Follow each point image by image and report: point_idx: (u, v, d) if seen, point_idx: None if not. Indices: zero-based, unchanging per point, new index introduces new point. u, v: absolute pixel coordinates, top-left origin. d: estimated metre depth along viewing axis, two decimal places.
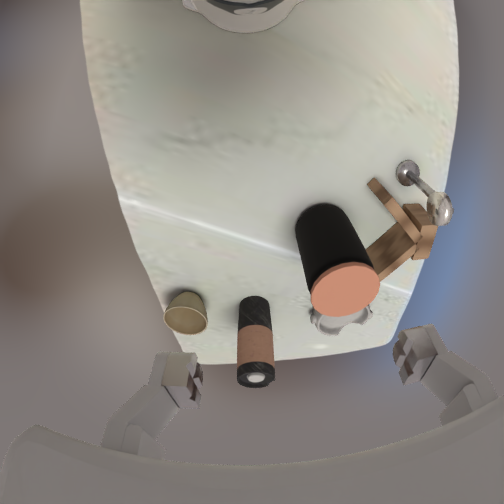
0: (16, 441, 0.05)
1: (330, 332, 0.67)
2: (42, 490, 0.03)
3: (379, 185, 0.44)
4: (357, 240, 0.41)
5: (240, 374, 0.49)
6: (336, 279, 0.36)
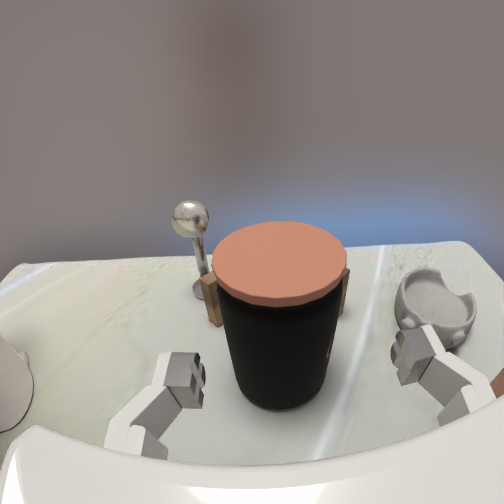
0: (16, 441, 0.05)
1: (471, 304, 0.31)
2: (42, 490, 0.03)
3: (207, 307, 0.38)
4: None
5: None
6: (236, 268, 0.20)
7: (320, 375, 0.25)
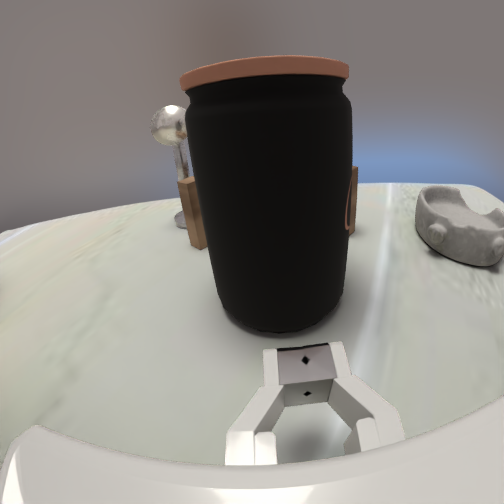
0: (16, 441, 0.05)
1: (502, 218, 0.24)
2: (42, 490, 0.03)
3: (187, 222, 0.31)
4: None
5: None
6: None
7: (339, 262, 0.18)
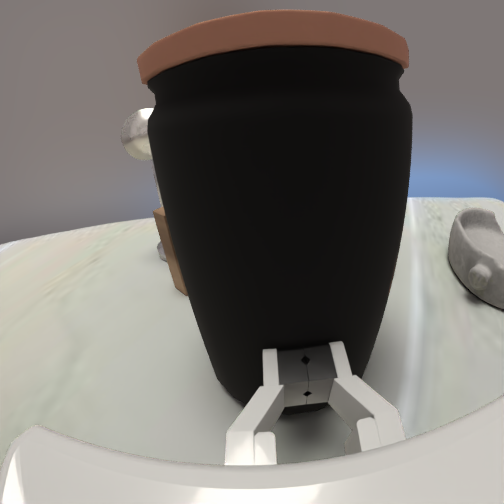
0: (16, 441, 0.05)
1: None
2: (42, 490, 0.03)
3: (168, 262, 0.24)
4: None
5: None
6: None
7: (374, 337, 0.12)
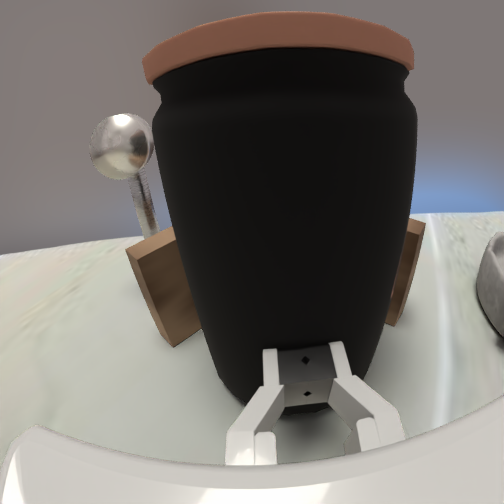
0: (16, 441, 0.05)
1: None
2: (42, 490, 0.03)
3: (149, 308, 0.19)
4: None
5: None
6: None
7: (375, 341, 0.12)
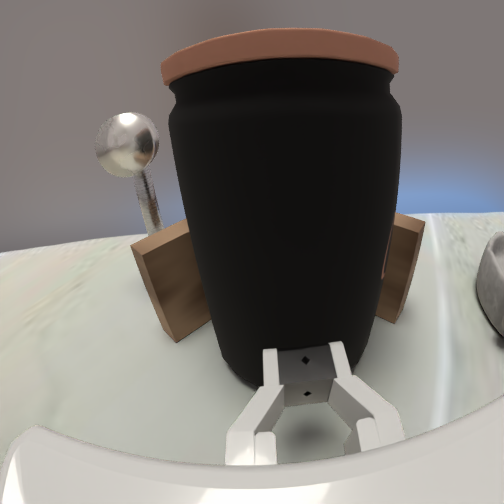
0: (16, 441, 0.05)
1: None
2: (42, 490, 0.03)
3: (153, 304, 0.19)
4: None
5: None
6: None
7: (368, 319, 0.13)
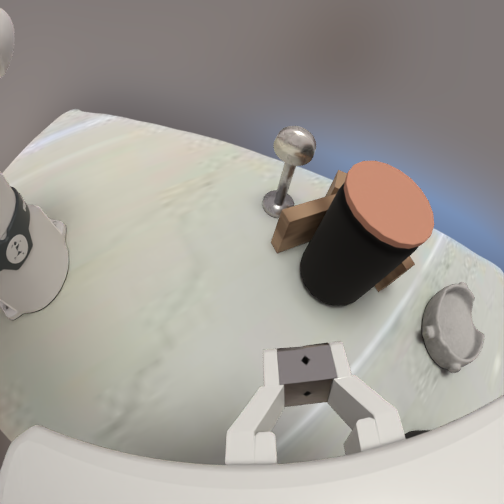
0: (16, 441, 0.05)
1: (479, 344, 0.32)
2: (42, 490, 0.03)
3: (275, 233, 0.39)
4: None
5: None
6: (363, 196, 0.24)
7: (365, 292, 0.33)
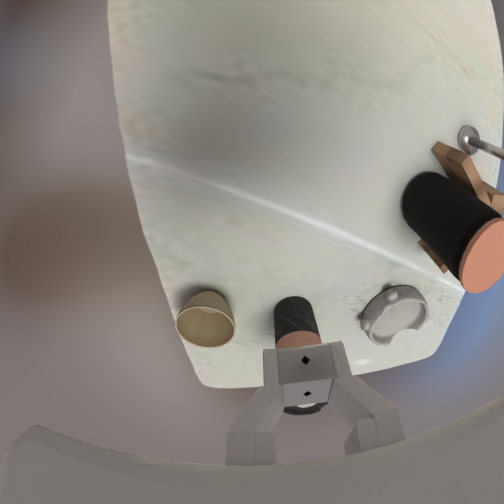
0: (16, 441, 0.05)
1: (381, 341, 0.51)
2: (42, 490, 0.03)
3: (447, 147, 0.31)
4: None
5: None
6: (491, 236, 0.22)
7: (419, 236, 0.36)
